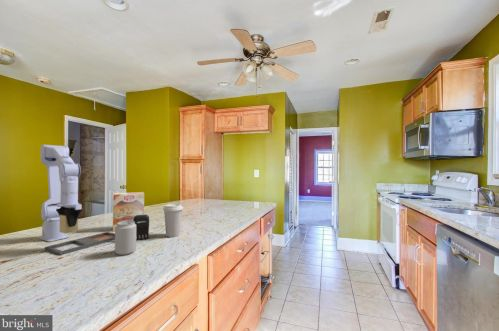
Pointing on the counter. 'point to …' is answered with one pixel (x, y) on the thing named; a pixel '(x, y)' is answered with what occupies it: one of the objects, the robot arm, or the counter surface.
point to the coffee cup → (173, 219)
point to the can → (125, 237)
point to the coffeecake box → (127, 206)
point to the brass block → (65, 227)
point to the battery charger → (141, 226)
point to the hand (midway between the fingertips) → (68, 225)
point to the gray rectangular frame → (82, 243)
